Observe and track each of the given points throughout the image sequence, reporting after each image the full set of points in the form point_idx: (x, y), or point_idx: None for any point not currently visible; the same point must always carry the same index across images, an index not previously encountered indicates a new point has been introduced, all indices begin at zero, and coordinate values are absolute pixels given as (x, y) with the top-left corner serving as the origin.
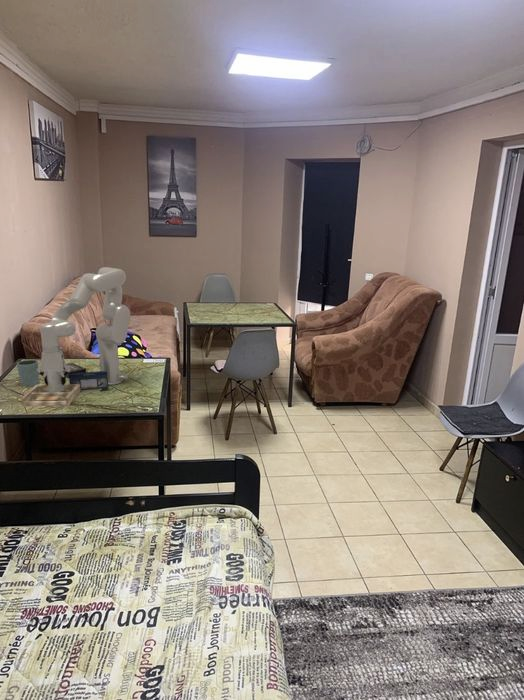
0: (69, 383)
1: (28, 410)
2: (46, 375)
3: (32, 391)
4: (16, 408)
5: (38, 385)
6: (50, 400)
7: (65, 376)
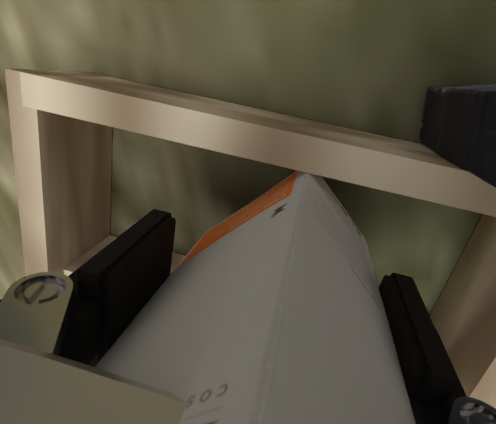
0: (469, 170)
1: None
2: (71, 353)
3: (56, 268)
4: None
5: (44, 111)
6: None
7: (471, 407)
